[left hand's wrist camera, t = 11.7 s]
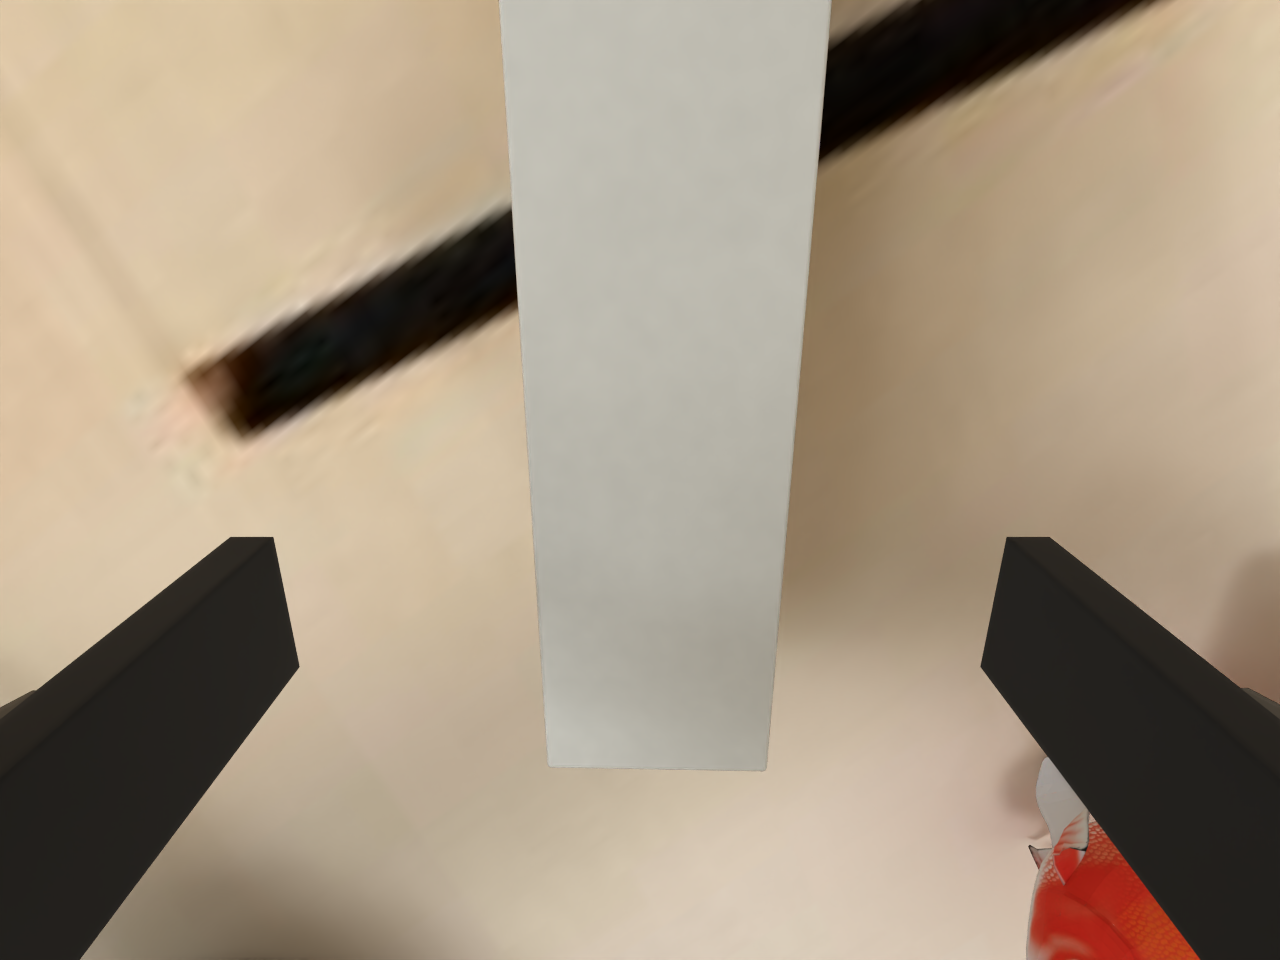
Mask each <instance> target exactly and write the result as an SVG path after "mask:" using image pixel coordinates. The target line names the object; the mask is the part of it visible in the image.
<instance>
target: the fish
mask: <svg viewBox="0 0 1280 960" xmlns="http://www.w3.org/2000/svg"><path fill="white" fill-rule="evenodd" d="M1036 799H1037V803H1038V807H1039V809H1040V812H1041V814H1042V816H1043V818H1044V820H1045V822H1046V823H1047V826H1048V828H1049V831H1050V835H1051V843H1052V847H1053V848H1047V849H1036V848H1034V847H1033V846H1031V845H1029V846H1028V847H1029V849H1030V851H1031V854H1032V856H1033V858H1034V860H1035V862H1036V865H1037V867H1038V869H1039V871H1038V874H1037V877H1036V882H1035V886H1034V890H1033V895H1032V900H1031V907H1030V915H1029V922H1028V932H1027V944H1026V960H1200V959H1199V957H1198V956H1197V955H1196V953H1195V952H1194V951H1193V949H1192V948H1191V947H1190V945H1189V944H1188V943H1187V941H1186V940H1185V939H1184V937H1183V936H1182V935H1181V933H1180V932H1179V931H1178V929H1177V928H1176V927H1175V925H1174V924H1173V923H1172V921H1171V920H1170V919H1169V917H1168V916H1167V915H1166V913H1165V912H1164V911H1163V909H1162V908H1161V907H1160V905H1159V904H1158V903H1157V901H1156V900H1155V899H1154V897H1153V896H1152V895H1151V893H1150V892H1149V891H1148V889H1147V888H1146V887H1145V885H1144V884H1143V883H1142V881H1141V880H1140V879H1139V877H1138V876H1137V875H1136V873H1135V872H1134V871H1133V869H1132V868H1131V867H1130V865H1129V864H1128V863H1127V861H1126V860H1125V859H1124V857H1123V856H1122V855H1121V853H1120V852H1119V851H1118V849H1117V848H1116V847H1115V845H1114V844H1113V843H1112V841H1111V840H1110V839H1109V837H1108V836H1107V835H1106V833H1105V832H1104V831H1103V829H1102V828H1101V827H1100V825H1099V824H1098V823H1097V822H1092V823H1089V811H1088V809H1087V808H1086V807H1085V805H1084V804H1083V803H1082V801H1081V800H1080V799H1079V797H1078V796H1077V795H1076V793H1075V792H1074V791H1073V789H1072V788H1071V787H1070V785H1069V784H1068V783H1067V781H1066V780H1065V779H1064V777H1063V776H1062V775H1061V773H1060V772H1059V771H1058V769H1057V768H1056V767H1055V765H1054V764H1053V763H1052V761H1051V760H1050V759H1049V757H1046V758H1045V759H1044V760H1043V762H1042V764H1041V767H1040V771H1039V775H1038V780H1037V784H1036Z"/></svg>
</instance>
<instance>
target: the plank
mask: <svg viewBox="0 0 1280 960" xmlns="http://www.w3.org/2000/svg"><path fill="white" fill-rule="evenodd" d="M831 5H832V0H499V11H500V27H501V43H502V58H503V74H504V90H505V105H506V121H507V137H508V152H509V168H510V184H511V199H512V215H513V231H514V246H515V262H516V278H517V293H518V309H519V325H520V340H521V356H522V372H523V387H524V403H525V418H526V434H527V450H528V465H529V481H530V497H531V512H532V528H533V544H534V559H535V575H536V591H537V606H538V622H539V638H540V653H541V669H542V685H543V700H544V716H545V732H546V747H547V763H548V766H549V767H559V768H614V769H669V770H725V771H765V770H766V768H767V758H768V746H769V734H770V723H771V711H772V699H773V687H774V676H775V664H776V652H777V640H778V628H779V617H780V605H781V593H782V581H783V570H784V558H785V546H786V534H787V523H788V511H789V499H790V487H791V475H792V464H793V452H794V440H795V428H796V417H797V405H798V393H799V381H800V370H801V358H802V346H803V334H804V323H805V311H806V299H807V287H808V275H809V264H810V252H811V240H812V228H813V217H814V205H815V193H816V181H817V170H818V158H819V146H820V134H821V122H822V111H823V99H824V87H825V75H826V64H827V52H828V40H829V28H830V17H831Z"/></svg>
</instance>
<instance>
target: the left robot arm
mask: <svg viewBox="0 0 1280 960" xmlns="http://www.w3.org/2000/svg"><path fill="white" fill-rule="evenodd" d="M298 668H299V662H298V657H297V652H296V647H295V642H294V637H293V632H292V627H291V622H290V617H289V612H288V607H287V602H286V597H285V593H284V588H283V583H282V578H281V573H280V568H279V563H278V558H277V553H276V548H275V543H274V538H273V537H230V538H229V539H227V540H226V541H225V542H224V543H222V544H221V545H220V546H219V547H217V548H216V549H215V550H213V551H212V552H211V553H210V554H208V555H207V556H206V557H205V558H203V559H202V560H201V561H200V562H198V563H197V564H196V565H195V566H193V567H192V568H191V569H189V570H188V571H187V572H186V573H184V574H183V575H182V576H181V577H179V578H178V579H177V580H176V581H174V582H173V583H172V584H171V585H169V586H168V587H167V588H165V589H164V590H163V591H162V592H160V593H159V594H158V595H157V596H155V597H154V598H153V599H152V600H150V601H149V602H148V603H146V604H145V605H144V606H143V607H141V608H140V609H139V610H138V611H136V612H135V613H134V614H133V615H131V616H130V617H129V618H128V619H126V620H125V621H124V622H122V623H121V624H120V625H119V626H117V627H116V628H115V629H114V630H112V631H111V632H110V633H109V634H107V635H106V636H105V637H104V638H102V639H101V640H100V641H98V642H97V643H96V644H95V645H93V646H92V647H91V648H90V649H88V650H87V651H86V652H85V653H83V654H82V655H81V656H79V657H78V658H77V659H76V660H74V661H73V662H72V663H71V664H69V665H68V666H67V667H66V668H64V669H63V670H62V671H61V672H59V673H58V674H57V675H55V676H54V677H53V678H52V679H50V680H49V681H48V682H47V683H45V684H44V685H43V686H42V687H40V688H39V689H38V690H37V691H31V692H29V693H27V694H25V695H23V696H21V697H19V698H17V699H16V700H14V701H12V702H10V703H8V704H6V705H4V706H2V707H0V960H80V959H81V957H82V956H83V955H84V953H85V952H86V951H87V949H88V948H89V947H90V945H91V944H92V943H93V941H94V940H95V939H96V937H97V936H98V935H99V933H100V932H101V931H102V929H103V928H104V927H105V925H106V924H107V923H108V921H109V920H110V919H111V917H112V916H113V915H114V913H115V912H116V911H117V909H118V908H119V907H120V905H121V904H122V903H123V901H124V900H125V899H126V897H127V896H128V895H129V893H130V892H131V891H132V889H133V888H134V887H135V885H136V884H137V883H138V881H139V880H140V879H141V877H142V876H143V875H144V873H145V872H146V871H147V869H148V868H149V867H150V865H151V864H152V863H153V861H154V860H155V859H156V857H157V856H158V855H159V853H160V852H161V851H162V849H163V848H164V847H165V845H166V844H167V843H168V841H169V840H170V839H171V837H172V836H173V835H174V833H175V832H176V831H177V829H178V828H179V827H180V825H181V824H182V823H183V821H184V820H185V819H186V817H187V816H188V815H189V813H190V812H191V811H192V809H193V808H194V807H195V805H196V804H197V803H198V801H199V800H200V799H201V797H202V796H203V795H204V793H205V792H206V791H207V789H208V788H209V787H210V785H211V784H212V783H213V781H214V780H215V779H216V777H217V776H218V775H219V773H220V772H221V771H222V769H223V768H224V767H225V765H226V764H227V763H228V761H229V760H230V759H231V757H232V756H233V755H234V753H235V752H236V751H237V749H238V748H239V747H240V745H241V744H242V743H243V741H244V740H245V739H246V737H247V736H248V735H249V733H250V732H251V731H252V729H253V728H254V727H255V725H256V724H257V723H258V721H259V720H260V719H261V717H262V716H263V715H264V713H265V712H266V711H267V709H268V708H269V707H270V705H271V704H272V703H273V701H274V700H275V699H276V697H277V696H278V695H279V693H280V692H281V691H282V689H283V688H284V687H285V685H286V684H287V683H288V681H289V680H290V679H291V677H292V676H293V675H294V673H295V672H296V671H297V670H298ZM981 668H982V670H983V671H984V672H985V674H986V675H987V676H988V677H989V679H990V680H991V681H992V683H993V684H994V685H995V687H996V688H997V689H998V691H999V692H1000V693H1001V695H1002V696H1003V697H1004V699H1005V700H1006V701H1007V703H1008V704H1009V705H1010V707H1011V708H1012V709H1013V711H1014V712H1015V713H1016V715H1017V716H1018V717H1019V719H1020V720H1021V721H1022V723H1023V724H1024V725H1025V727H1026V728H1027V729H1028V731H1029V732H1030V733H1031V735H1032V736H1033V737H1034V739H1035V740H1036V741H1037V743H1038V744H1039V745H1040V747H1041V748H1042V749H1043V751H1044V752H1045V753H1046V755H1047V756H1048V757H1049V759H1050V760H1051V761H1052V763H1053V764H1054V765H1055V767H1056V768H1057V769H1058V771H1059V772H1060V773H1061V775H1062V776H1063V777H1064V779H1065V780H1066V781H1067V783H1068V784H1069V785H1070V787H1071V788H1072V789H1073V791H1074V792H1075V793H1076V795H1077V796H1078V797H1079V799H1080V800H1081V801H1082V803H1083V804H1084V805H1085V807H1086V808H1087V809H1088V811H1089V812H1090V813H1091V815H1092V816H1093V817H1094V819H1095V820H1096V821H1097V823H1098V824H1099V825H1100V827H1101V828H1102V829H1103V831H1104V832H1105V833H1106V835H1107V836H1108V837H1109V839H1110V840H1111V841H1112V843H1113V844H1114V845H1115V847H1116V848H1117V849H1118V851H1119V852H1120V853H1121V855H1122V856H1123V857H1124V859H1125V860H1126V861H1127V863H1128V864H1129V865H1130V867H1131V868H1132V869H1133V871H1134V872H1135V873H1136V875H1137V876H1138V877H1139V879H1140V880H1141V881H1142V883H1143V884H1144V885H1145V887H1146V888H1147V889H1148V891H1149V892H1150V893H1151V895H1152V896H1153V897H1154V899H1155V900H1156V901H1157V903H1158V904H1159V905H1160V907H1161V908H1162V909H1163V911H1164V912H1165V913H1166V915H1167V916H1168V917H1169V919H1170V920H1171V921H1172V923H1173V924H1174V925H1175V927H1176V928H1177V929H1178V931H1179V932H1180V933H1181V935H1182V936H1183V937H1184V939H1185V940H1186V941H1187V943H1188V944H1189V945H1190V947H1191V948H1192V949H1193V951H1194V952H1195V953H1196V955H1197V956H1198V957H1199V959H1200V960H1280V704H1278V703H1276V702H1274V701H1272V700H1270V699H1268V698H1266V697H1264V696H1263V695H1261V694H1259V693H1257V692H1255V691H1253V690H1251V689H1249V688H1240V687H1238V686H1237V685H1236V684H1235V683H1233V682H1232V681H1231V680H1230V679H1228V678H1227V677H1226V676H1225V675H1223V674H1222V673H1221V672H1219V671H1218V670H1217V669H1216V668H1214V667H1213V666H1212V665H1211V664H1209V663H1208V662H1207V661H1206V660H1204V659H1203V658H1202V657H1201V656H1199V655H1198V654H1197V653H1195V652H1194V651H1193V650H1192V649H1190V648H1189V647H1188V646H1187V645H1185V644H1184V643H1183V642H1182V641H1180V640H1179V639H1178V638H1176V637H1175V636H1174V635H1173V634H1171V633H1170V632H1169V631H1168V630H1166V629H1165V628H1164V627H1163V626H1161V625H1160V624H1159V623H1158V622H1156V621H1155V620H1154V619H1152V618H1151V617H1150V616H1149V615H1147V614H1146V613H1145V612H1144V611H1142V610H1141V609H1140V608H1139V607H1137V606H1136V605H1135V604H1134V603H1132V602H1131V601H1130V600H1128V599H1127V598H1126V597H1125V596H1123V595H1122V594H1121V593H1120V592H1118V591H1117V590H1116V589H1115V588H1113V587H1112V586H1111V585H1109V584H1108V583H1107V582H1106V581H1104V580H1103V579H1102V578H1101V577H1099V576H1098V575H1097V574H1096V573H1094V572H1093V571H1092V570H1091V569H1089V568H1088V567H1087V566H1085V565H1084V564H1083V563H1082V562H1080V561H1079V560H1078V559H1077V558H1075V557H1074V556H1073V555H1072V554H1070V553H1069V552H1068V551H1067V550H1065V549H1064V548H1063V547H1061V546H1060V545H1059V544H1058V543H1056V542H1055V541H1054V540H1053V539H1051V538H1050V537H1007V538H1006V543H1005V548H1004V553H1003V558H1002V563H1001V568H1000V573H999V578H998V583H997V588H996V593H995V597H994V602H993V607H992V612H991V617H990V622H989V627H988V632H987V637H986V642H985V647H984V652H983V657H982V662H981Z"/></svg>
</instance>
